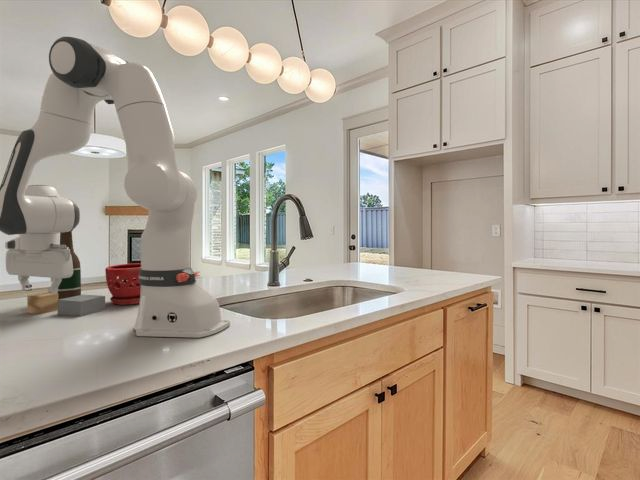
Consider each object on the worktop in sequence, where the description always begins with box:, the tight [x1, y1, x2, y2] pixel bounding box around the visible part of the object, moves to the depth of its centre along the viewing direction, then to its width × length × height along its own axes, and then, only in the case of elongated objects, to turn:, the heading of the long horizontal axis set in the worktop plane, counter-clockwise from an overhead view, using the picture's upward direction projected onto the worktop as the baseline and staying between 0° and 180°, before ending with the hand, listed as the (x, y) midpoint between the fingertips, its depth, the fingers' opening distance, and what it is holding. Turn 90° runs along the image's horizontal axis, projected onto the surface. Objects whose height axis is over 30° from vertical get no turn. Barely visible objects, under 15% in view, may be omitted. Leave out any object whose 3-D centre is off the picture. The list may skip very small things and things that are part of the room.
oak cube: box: [26, 291, 58, 315], centre depth 103 cm, size 5×5×5 cm
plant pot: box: [105, 262, 141, 306], centre depth 116 cm, size 13×13×12 cm
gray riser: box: [57, 294, 106, 317], centre depth 103 cm, size 8×8×4 cm
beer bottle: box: [58, 229, 82, 300], centre depth 114 cm, size 8×8×24 cm
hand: (39, 292), depth 103 cm, fingers open, 8 cm apart
